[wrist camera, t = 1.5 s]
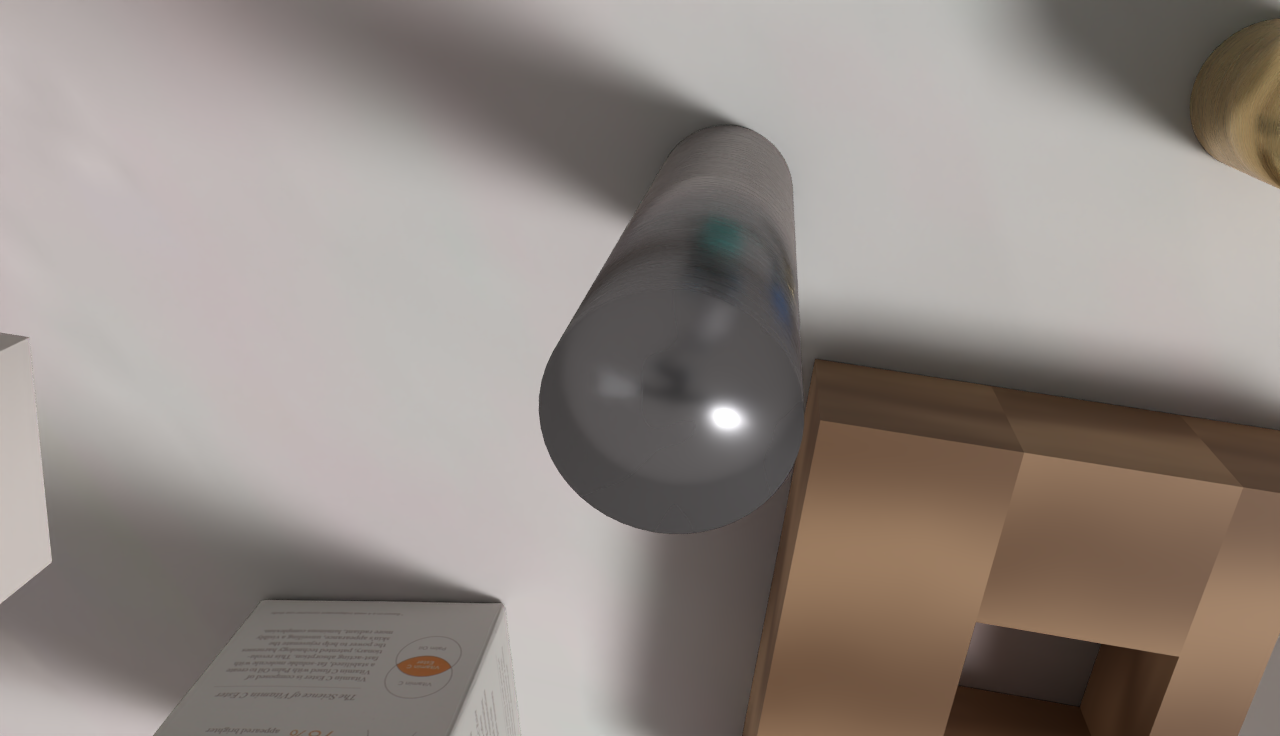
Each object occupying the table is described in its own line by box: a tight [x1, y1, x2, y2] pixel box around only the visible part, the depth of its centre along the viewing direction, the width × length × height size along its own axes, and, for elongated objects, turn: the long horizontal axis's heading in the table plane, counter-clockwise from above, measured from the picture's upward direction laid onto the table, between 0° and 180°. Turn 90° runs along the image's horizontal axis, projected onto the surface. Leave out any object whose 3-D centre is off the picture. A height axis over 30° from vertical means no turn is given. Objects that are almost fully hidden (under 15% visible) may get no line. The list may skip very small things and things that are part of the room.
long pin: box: [539, 125, 804, 534], centre depth 20 cm, size 3×3×14 cm
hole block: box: [742, 359, 1280, 736], centre depth 28 cm, size 14×14×4 cm
